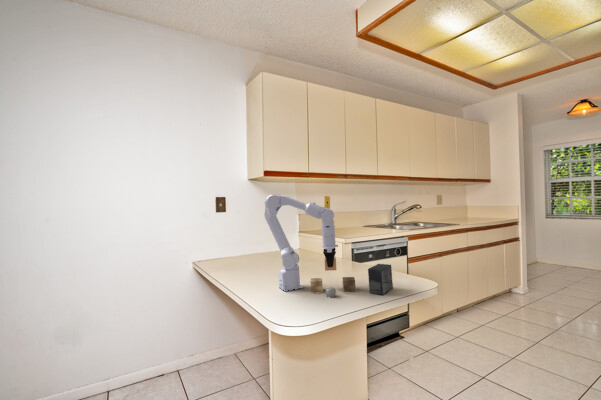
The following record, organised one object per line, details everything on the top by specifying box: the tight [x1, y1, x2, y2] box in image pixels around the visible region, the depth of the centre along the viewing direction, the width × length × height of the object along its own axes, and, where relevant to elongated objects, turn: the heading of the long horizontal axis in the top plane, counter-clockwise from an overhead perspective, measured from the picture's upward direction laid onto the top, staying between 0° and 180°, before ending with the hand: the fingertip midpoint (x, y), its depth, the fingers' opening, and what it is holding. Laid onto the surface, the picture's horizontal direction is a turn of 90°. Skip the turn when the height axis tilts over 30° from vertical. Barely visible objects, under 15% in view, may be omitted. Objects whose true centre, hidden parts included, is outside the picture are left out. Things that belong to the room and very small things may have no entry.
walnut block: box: [342, 276, 357, 293], centre depth 129 cm, size 5×5×5 cm
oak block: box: [310, 277, 324, 293], centre depth 130 cm, size 5×5×5 cm
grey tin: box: [325, 287, 337, 299], centre depth 122 cm, size 4×4×3 cm
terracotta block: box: [324, 256, 337, 272], centre depth 133 cm, size 5×5×5 cm
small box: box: [367, 263, 394, 296], centre depth 125 cm, size 11×6×10 cm, turn 141°
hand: (330, 265), depth 133 cm, fingers closed on terracotta block, 5 cm apart
